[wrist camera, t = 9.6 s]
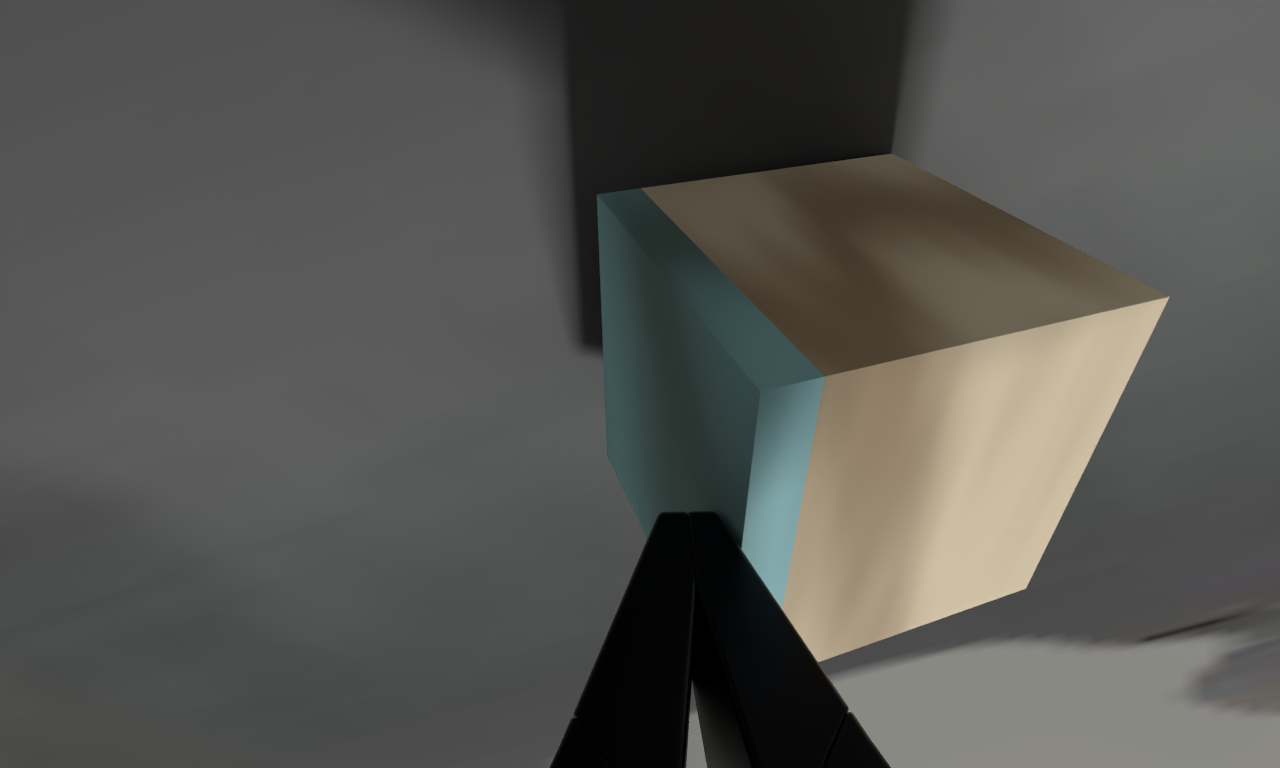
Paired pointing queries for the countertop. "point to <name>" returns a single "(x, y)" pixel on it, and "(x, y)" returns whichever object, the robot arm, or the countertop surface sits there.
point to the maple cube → (859, 382)
